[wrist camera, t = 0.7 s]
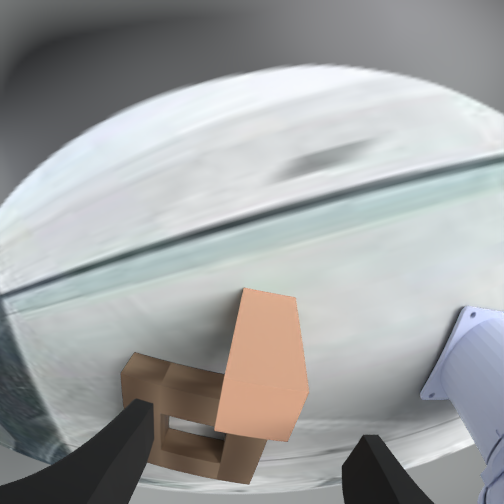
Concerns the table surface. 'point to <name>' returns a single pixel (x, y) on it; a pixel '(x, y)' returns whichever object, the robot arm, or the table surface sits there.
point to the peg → (264, 369)
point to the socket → (192, 409)
